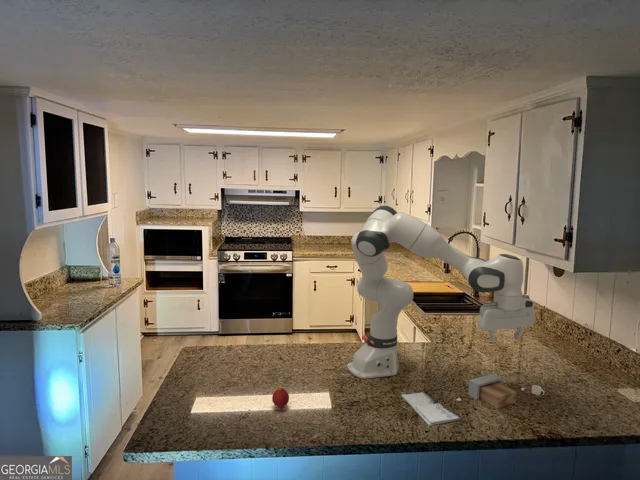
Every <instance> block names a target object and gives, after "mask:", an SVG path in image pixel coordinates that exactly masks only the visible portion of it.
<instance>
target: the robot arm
mask: <svg viewBox="0 0 640 480" xmlns="http://www.w3.org/2000/svg"><path fill="white" fill-rule="evenodd" d="M350 243H351V248H352V253H353V255H354V258H355V261H356V262H357V265H358V267H359V271H360V273H361V277H360V279H359V280H358V282H357V285H356V286H357V287H356V288H357V289H356V290H357V293H358V295H359V296H361V297H362V298H364V299H366V300H368V301H371V302H376V303H379V304H380V310H377V311H375V312H374V313H372V315H371V316H370V333H369V334H368V336H367V335H366V334H362V336H361V339H362V340H364V341H365V344H363V345H362V346H361V347H360V348H359V349H357V351H355V352H354V354H353V357H352V361H351V362H348V363H347V365H346V368H347V370H348V371H349V372H350V373H351V374H352V375H354V376H355V377H357V378H359V379H363V380H364V379H365V380H366V379H367V380H368V379H376V378H385V377H389V376H390V377H391V376H397V374H398V371H399V370H400V364H399V359H398V351H397V345H398V333H397V328H398V327H397V326H398V319H399V316H400V314H401V312H402V310H403V309H405V308H407V307H408V306H409V305H410V304H411V302H412V301H413V300H414V290H413V288H412V285H411V284H409V283H407V282H405V281H403V280H401V279H395V278H391V277H388V276H387V277H386V276H385V274H386V273H387V272H388V268H389V264H388V261H387V258H386V256H385V253H384V251H386V250H388V249H389V248H390V244H392V243H397V244H399V245H401V246H402V247H404V248H405V249H407V250H408V251H410V252H411V253H413V254H415V255H417V256H420V257H421V258H425V259H432V258H433V259H439V260H440V261H442V262H444V263H446V264H448V265H450V266H451V267H453V268H454V269H456V270H458V271H459V272H460V274H461V275H462V277H463V278H464V279H465V281H466V282H467V283H468V285H469V286H470V287H471V289H472V290H474V291H475V292H476V293H477V292H478V293H482V294H483V293H493V302H486V303H484V304H483V305H480V308H479V315H478V320H477V321H478V322H477V326H478V327H479V329H481V330H482V331H484V332H485V331H487V333H488V334H489V340H490V342H491V343H494V342H495V343H496V342H497V341H498V336H495V332H496V330H508V329H516V331H515V332H514V333H513V338H514V339H515V340H521V339H522V334H523V332H524V331H525V328H527V327H533V326H534V325H535V323H536V322H535V321H536V309H535V306H536V301H535V300H532V299H531V298H527V297H525V296H523V290H522V287H523V286H522V285H523V283H524V263H523V261H522V259H520V258H519V257H517V256H515V255H511V254H507V253H500V254H498V255H497V256H495V257H493V258H491V259H489V260H485V259H483V258H481V257H476V256H475V257H474V256H470V255H468V254H465V252H463V251H462V250H459V249H458V248H456V247H454V246H453V245H451V244H450V243H449V242H448V241H447V240H446V239H445V238H444V237H443V236H442V235H441V234H440V233H439V232H438V231H437V230H436V229H434V228H433V227H432V226H430V225H429V224H428V223H427V222H424V221H423V220H421V219H419V218H417V217H415V216H413V215H411V214H408V213H405V212H397V211H396V210H395V209H394V208H393V207H391V206H389V205H380V206H379V207H377V208H375V209H374V210H373V211H372V213H371V215H370V216H368V218H367V219H366V220H365V222H364V224H363V225H362V228H361V229H360V230H359V231H357V232H356V233H354V234H353V235H352V236H351V241H350Z"/></svg>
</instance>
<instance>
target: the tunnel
mask: <svg viewBox="0 0 640 480" xmlns="http://www.w3.org/2000/svg"><path fill="white" fill-rule="evenodd" d="M503 381H504V377H502V376H500V375H498V374H496V373H489V374H487V375H482V376H479V377H475V378H471V379H468V395H469V396H470V397H472V398H473V399H475V400H479V399H480V398H479V389H480V386H483V385H486V384H490V383H493V382H499V383H500V384H502V385H503Z"/></svg>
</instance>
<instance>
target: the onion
mask: <svg viewBox="0 0 640 480" xmlns="http://www.w3.org/2000/svg"><path fill="white" fill-rule="evenodd" d="M271 397H272V399H271V400H272V403H273V405H274V406H276V407H277V408H278V409H280V410H281V409H283V408H285V407H286V406H287V405H288V404H289V402H290V401H289V400H290V394H289V392H288V391H287V389H285V388H283V387H282V386H278V388H277V389H276V390H275V391H274V392H273V393H272V396H271Z"/></svg>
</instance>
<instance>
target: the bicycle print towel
mask: <svg viewBox="0 0 640 480" xmlns="http://www.w3.org/2000/svg"><path fill="white" fill-rule="evenodd" d="M401 398H402V399H403V400H405V401H406V402H407V403H408V405H410V406H411V407H412V409H413V410H414V411H415V412H416V413H417V415H419V416H420V417H421V419H423V421H424V422H425V423H426V425H428V426H433V425H434V426H435V425H440V424H445V423H449V422H450V423H451V422H456V421H461V420H463V417H460V416H459V415H458V414H456V413H455V412H453V411H451V409H449V408H448V407H446V406H445V405H443V404H442V403H440V402H439V401H438V400H436V399H435V398H434V397H431V396H430V395H428V394H427V393H426V392H425V391H423V392H417V393H415V392H414V393H408V394H404V393H403V394H401ZM455 400H456V401H458V402H459V401H461V402H462V399H461V397H458V398H457V399H455Z"/></svg>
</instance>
